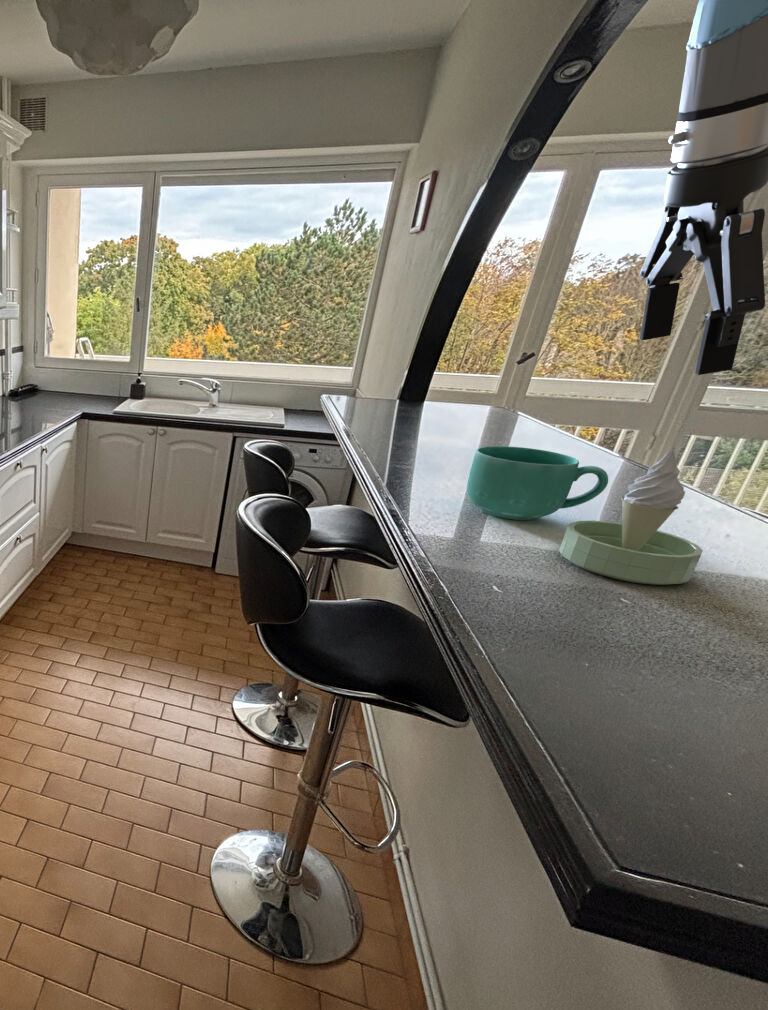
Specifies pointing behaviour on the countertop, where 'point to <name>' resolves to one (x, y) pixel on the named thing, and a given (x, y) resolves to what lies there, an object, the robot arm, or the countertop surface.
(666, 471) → the ice cream cone
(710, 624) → the countertop surface
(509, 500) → the mug
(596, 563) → the bowl
